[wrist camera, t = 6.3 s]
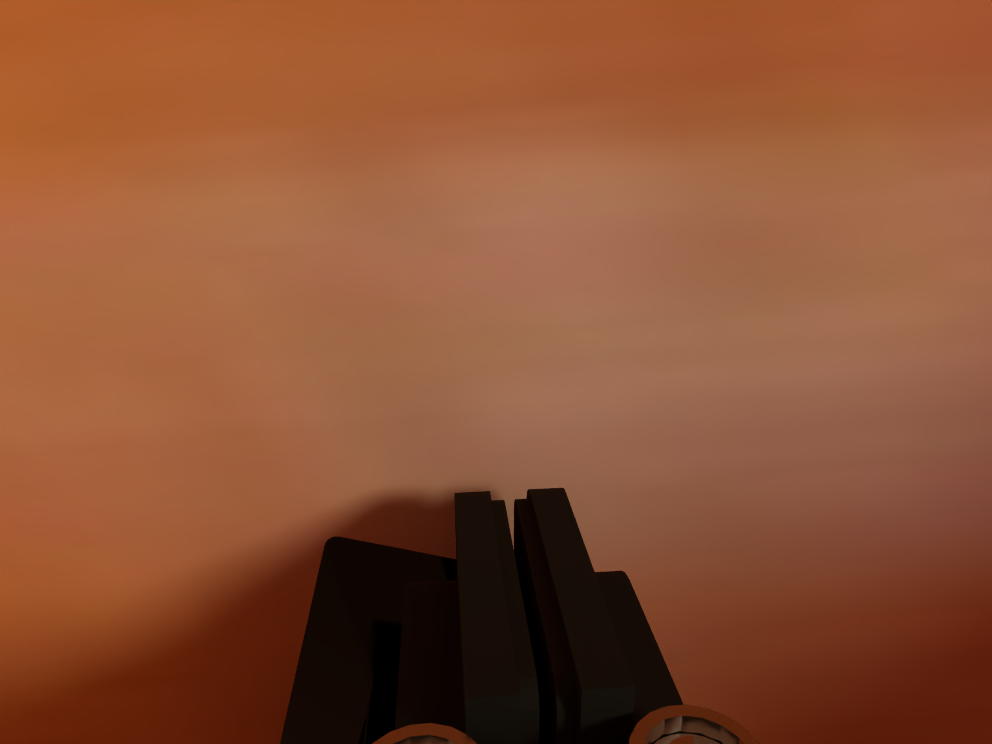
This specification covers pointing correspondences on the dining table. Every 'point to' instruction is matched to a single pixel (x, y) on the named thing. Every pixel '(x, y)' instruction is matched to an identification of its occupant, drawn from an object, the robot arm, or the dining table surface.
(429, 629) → the robot arm
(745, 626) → the dining table surface
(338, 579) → the black piece
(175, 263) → the dining table surface
